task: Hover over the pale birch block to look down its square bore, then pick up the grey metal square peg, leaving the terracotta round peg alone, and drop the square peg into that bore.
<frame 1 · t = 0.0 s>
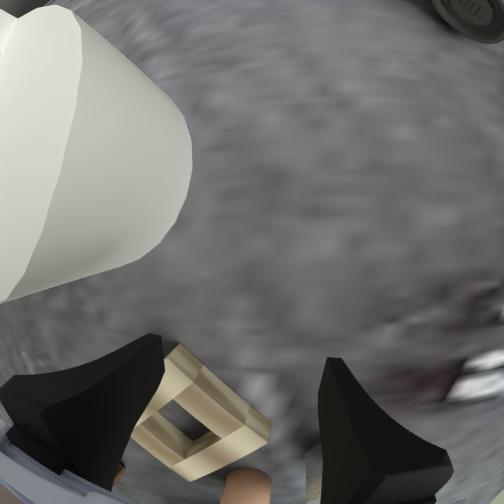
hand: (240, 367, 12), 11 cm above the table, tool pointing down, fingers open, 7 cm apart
round peg: (249, 480, 25), on the table
bore block: (188, 413, 24), on the table
cylinder: (104, 171, 23), on the table
square peg: (333, 450, 23), on the table
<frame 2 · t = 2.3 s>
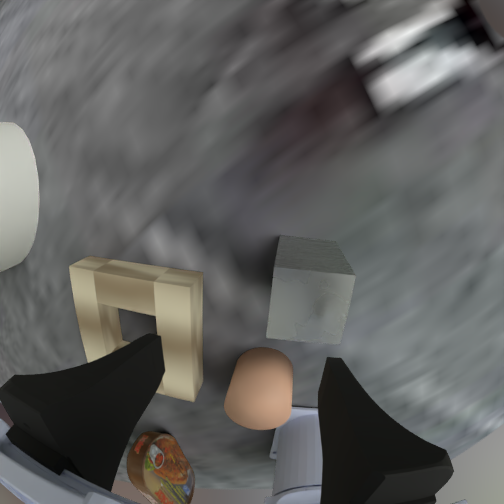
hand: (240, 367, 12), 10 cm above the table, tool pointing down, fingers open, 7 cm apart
round peg: (264, 370, 24), on the table
bore block: (144, 321, 24), on the table
cylinder: (0, 194, 24), on the table
square peg: (304, 265, 21), on the table
tin: (174, 452, 30), on the table
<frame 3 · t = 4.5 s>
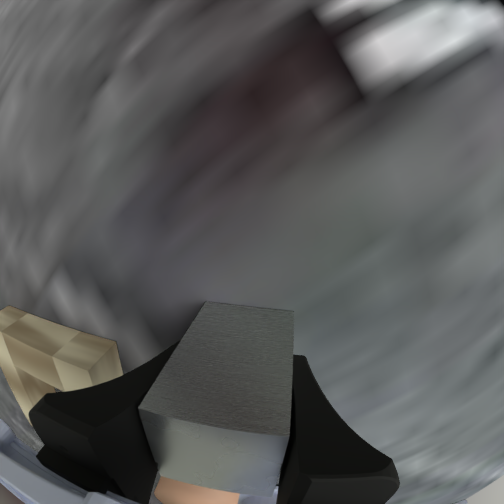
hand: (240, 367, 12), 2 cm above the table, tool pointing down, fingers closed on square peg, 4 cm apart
round peg: (211, 450, 17), on the table
bore block: (71, 383, 17), on the table
square peg: (247, 343, 14), on the table, touching gripper
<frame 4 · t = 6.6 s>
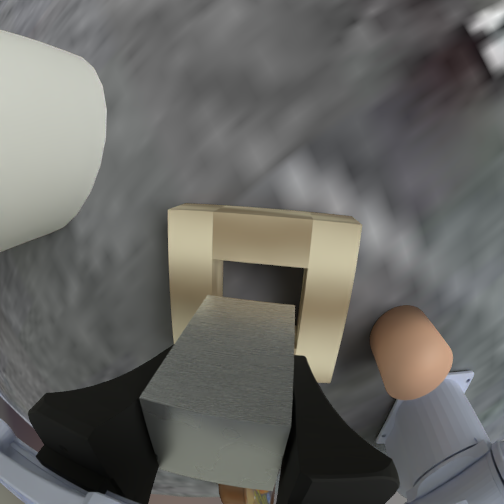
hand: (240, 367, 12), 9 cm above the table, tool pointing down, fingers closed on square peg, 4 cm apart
round peg: (399, 333, 20), on the table
bore block: (261, 287, 20), on the table
cylinder: (39, 142, 20), on the table
square peg: (247, 337, 14), point 7 cm above the table, touching gripper
tin: (256, 456, 26), on the table
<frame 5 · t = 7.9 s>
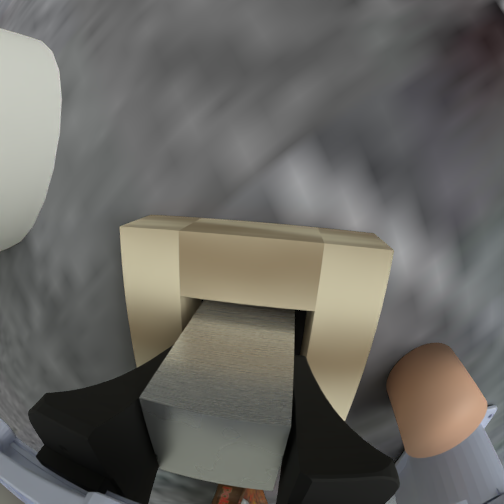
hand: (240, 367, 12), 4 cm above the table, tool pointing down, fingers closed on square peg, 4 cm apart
round peg: (422, 375, 15), on the table
bore block: (251, 325, 15), on the table
square peg: (247, 337, 14), point 2 cm above the table, touching gripper
tin: (250, 493, 21), on the table
when the fingers open (4 cm above the table, at t = 8.7 s): square peg drops 2 cm, resting in bore block.
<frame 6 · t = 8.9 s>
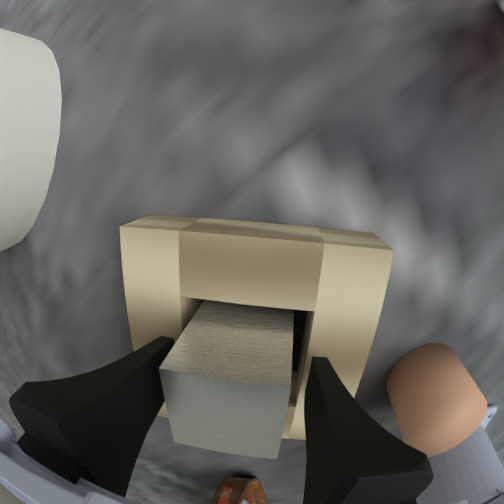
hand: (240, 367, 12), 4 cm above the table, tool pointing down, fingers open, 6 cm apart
round peg: (422, 375, 15), on the table
bore block: (251, 325, 15), on the table
square peg: (252, 322, 15), resting in bore block
tin: (250, 494, 21), on the table
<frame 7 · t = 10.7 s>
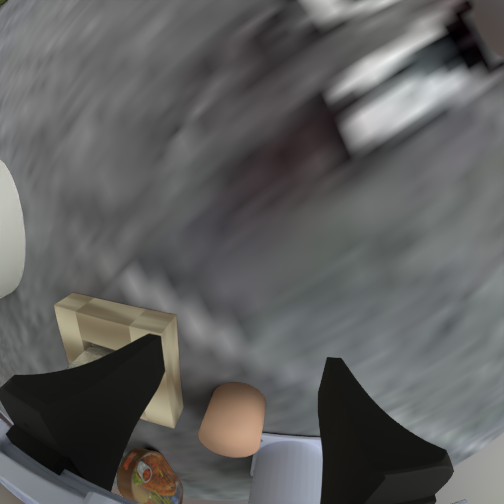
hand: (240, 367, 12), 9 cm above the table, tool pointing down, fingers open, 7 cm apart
round peg: (239, 401, 24), on the table
bore block: (126, 354, 25), on the table
square peg: (126, 352, 25), resting in bore block
tin: (163, 466, 31), on the table
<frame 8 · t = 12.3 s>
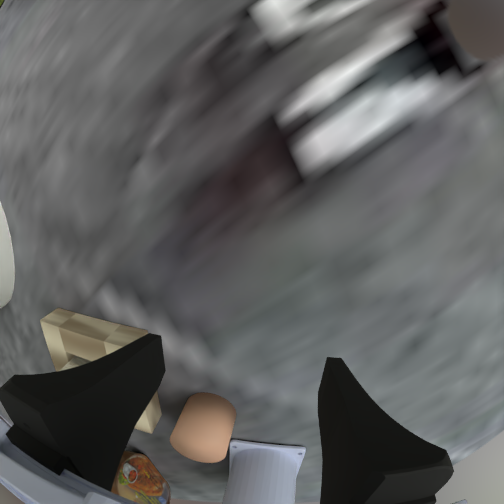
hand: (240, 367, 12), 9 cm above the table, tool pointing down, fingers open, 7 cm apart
round peg: (210, 410, 25), on the table
bore block: (107, 364, 25), on the table
tin: (150, 468, 32), on the table
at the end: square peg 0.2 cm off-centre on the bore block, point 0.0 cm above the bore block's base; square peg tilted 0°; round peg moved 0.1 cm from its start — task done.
